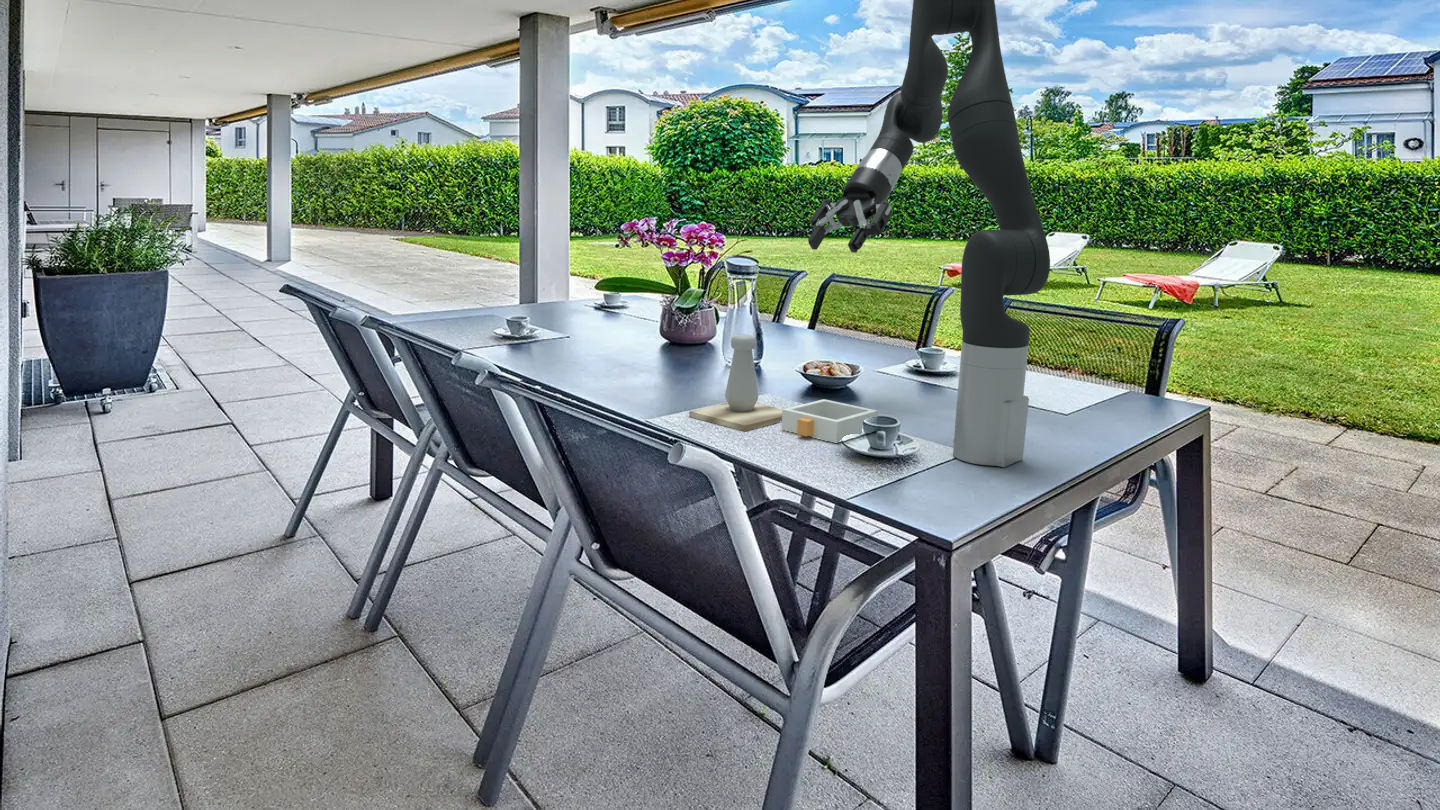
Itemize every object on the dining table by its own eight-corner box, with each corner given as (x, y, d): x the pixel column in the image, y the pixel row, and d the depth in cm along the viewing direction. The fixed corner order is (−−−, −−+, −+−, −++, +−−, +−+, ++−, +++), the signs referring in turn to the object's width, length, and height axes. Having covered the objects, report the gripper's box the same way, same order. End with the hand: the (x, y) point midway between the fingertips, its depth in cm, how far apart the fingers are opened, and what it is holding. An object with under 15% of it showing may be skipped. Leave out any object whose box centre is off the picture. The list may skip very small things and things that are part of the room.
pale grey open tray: (876, 431, 146) (877, 410, 145) (829, 445, 137) (830, 423, 136) (822, 419, 153) (823, 399, 152) (775, 431, 144) (775, 410, 143)
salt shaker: (728, 413, 152) (730, 337, 148) (721, 405, 157) (723, 332, 154) (761, 412, 153) (764, 337, 150) (753, 404, 158) (755, 332, 155)
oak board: (796, 418, 153) (796, 412, 153) (745, 431, 144) (745, 425, 144) (740, 404, 162) (740, 399, 162) (689, 416, 153) (689, 411, 153)
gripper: (832, 165, 162) (790, 230, 156) (900, 164, 152) (857, 234, 147) (848, 195, 167) (807, 260, 161) (914, 197, 157) (873, 265, 152)
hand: (831, 247), depth 154 cm, fingers open, 8 cm apart
